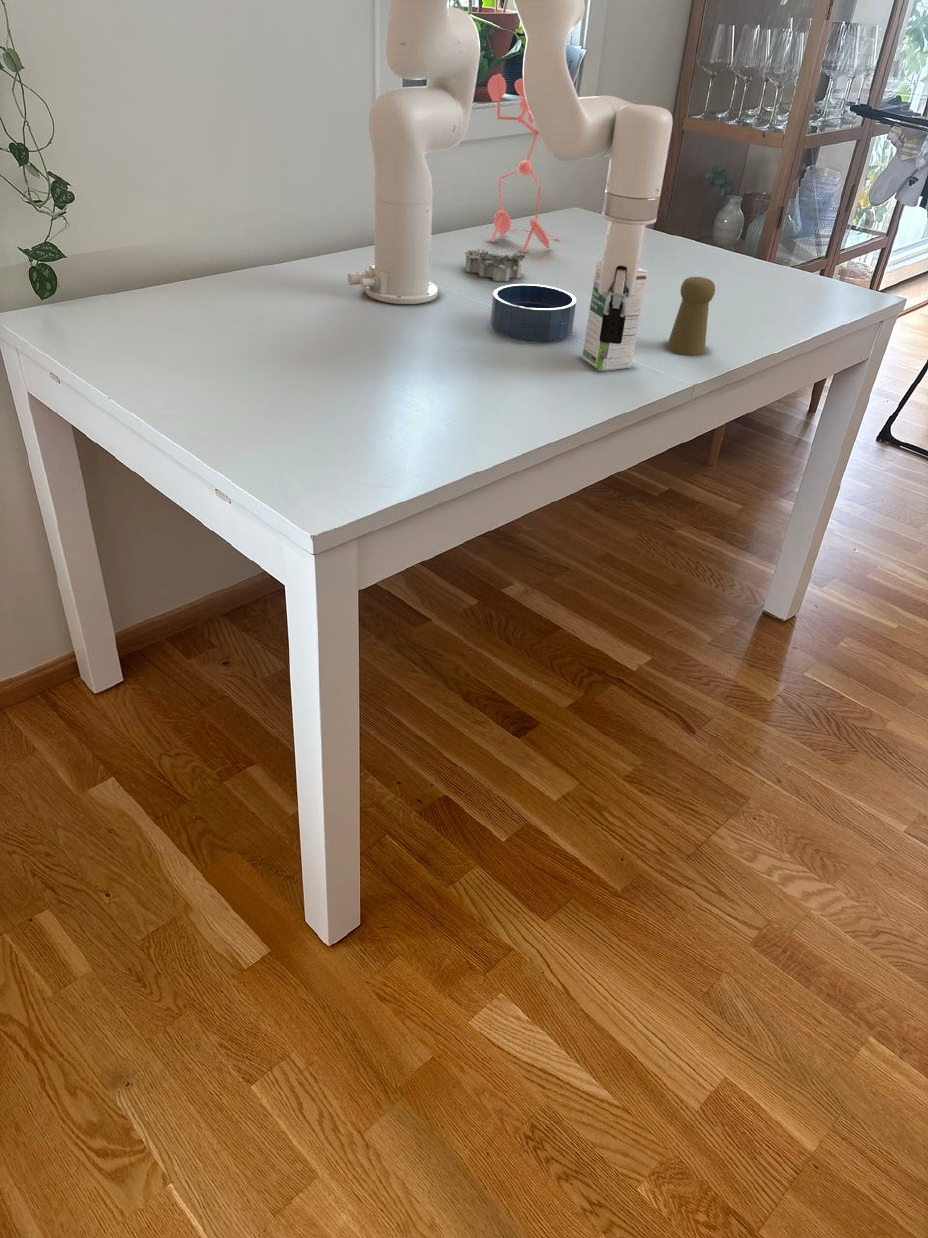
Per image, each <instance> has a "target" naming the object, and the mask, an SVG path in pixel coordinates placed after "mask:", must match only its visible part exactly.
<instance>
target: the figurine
mask: <svg viewBox="0 0 928 1238" xmlns="http://www.w3.org/2000/svg"><path fill="white" fill-rule="evenodd" d="M486 87H487V93H488V95H489V97H490V99H491V101H492V102H493V103H494V102H496V117H497V120H503V121H506V120H507V121H517V123H521V124H522V125H524V127H526V129H528V130H529V131H530V132H531V133H532V134H533V138H532V142H531V145H530V148H529V150H528V155H527V158H526V159H525V160H522V161H521V162H520V163H519V164H518V169H515V170H513V171H511V172H508V173H507V174H504V175H501V176H499V177H498V181H497V182H498V191H499V201H500V203H499V204H500V210H498V211H496V213H494V215H493V216H494V217H493V221H492V222H493V225H494V228H495V229H494V231H493V234H492V237H491V239H490V242H491V243H494V241H495V238H496V236H497V233H499V234H500V235H501V236H502V237H503V236H504V235H506V234H507V232H508V231H515V229H513V228H511V226H512V220H511V216H510V215H509V214H508V212H506V211H505V210H504V207H503V196H502V185H501V184H502V183H501V179H504V178H506V177H509V176H511V175H513V174H516V173H518V172H519V174H521V175H523V176H528V175H530V174H531V176H532V177H533V179H534V182H535V183H536V184H537V186H538V194H537V203H536V210H535V218H534V219H532V218H531V219H530V220H529V225H530V230H528V229H517V232H518V231H519V232H526V233H527V232H528V236H527V238H526V241H525V244H524V245H523V248H522V252H523V253H526V251H527V247H528V245H529V242H530V240H531V237H532V235H533V234H534V236H535V237H536V238H537V239H538V240H539V242H540V243H541V244H542V245H543V246H544V247H546V248H547V249H548V250H549V249H550V241H549V240H550V239H549V238H548V237H550V238H553V239H556V240H557V241H561V242H563V243H565V241H563V240H562V239H560V238H558V237H555V236H553V235H552V234H548V233H546V231H545V230H544V229H543V227H542V226H541V225H540V223H539V222H537V220H538V213H539V207H540V199H541V191H542V186H541V184H540V183H539V181H538V179H537V177H536V175H535V174H534V172H533V164H532V163H531V161H530V158H531V154H532V151H533V148H534V146H535V143H536V139H537V137H538V135H539V134H538V131H537V129H536V128H534V127H533V126H532V125H531V124H532V123H534V121H533V118H532V116H531V113H530V111H529V108H528V105H527V102H526V98H525V93H524V86H523V77H521V78H518V79H517V80H516V81H514V89H515V91H516V92H517V94H518V95H519V96H520V98H521V99H520V103H519V107H520V109H521V110H522V111H521V114H520V115H518V116H501V99H502V98H503V97H504V95H506V91H507V83H506V79H505V78H504V77H503V76H502V74H501V73H497V74H494V75H492V76H491V78H490V79H489V80H488V82H487V86H486ZM526 112H527V115H526V116H527V117H526V118H527V121H528V122H529V123H528V122H527V121H526V120H525V119H524V116H525V114H526ZM530 123H531V124H530ZM546 258H549V256H542V257H541V259H546Z"/></svg>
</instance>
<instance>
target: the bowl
mask: <svg viewBox="0 0 928 1238" xmlns="http://www.w3.org/2000/svg"><path fill="white" fill-rule="evenodd" d="M491 303H492V304H491V315H490V316H491V318H490V325H491V327H492V329H493V330H495V331H496V332H497V333H499V334H501V335H504V336H505V337H508V338H511V339H513V340H517V341H523V342H531V343H548V342H553V341H557V340H558V341H559V340H562V339H565V338H567V337H569V336H570V335H571V334H572V332H573V327H574V321H575V320H574V319H575V313H576V305H577V298H576V297H575V296H574V294H572V293H570V292H568V291H566V290H563V289H561V288H557V287H554V286H553V287H552V286H548V285H542V284H531V283H528V284H527V283H517V284H508V285H504V286H501V287H498V288H496V289H495V290H494V291H493V294H492V302H491Z"/></svg>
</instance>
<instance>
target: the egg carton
mask: <svg viewBox="0 0 928 1238" xmlns="http://www.w3.org/2000/svg"><path fill="white" fill-rule="evenodd" d="M463 253H464V254H465V272H467V273H477V274H478V276H479V277H483V278H485V277H488V278H492V280H493V281H494V282H509V281H510V279H520V278H521V271H522V264H521V262H523V261H524V260H525V259H526V255H525V254H523V253H518V252H517V253H513V254H512V255H510V254H508V253H506V254H505V255H503V254H501V253H495V252H494V253H489V251H487V250H485V249H482V250H481V251H480V249H479V248H478V249H476V250H473V249H472V250H471V249H469V250H467V251H465V250H463Z"/></svg>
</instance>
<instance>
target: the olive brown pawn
mask: <svg viewBox="0 0 928 1238" xmlns="http://www.w3.org/2000/svg"><path fill="white" fill-rule="evenodd" d="M679 291H680V296H681V302H680V305H679V308H678V311H677V313H676V317H675V321H674V322H673V326H672V329H671V332H670V335H669V339H668V341H667V345H666V347H667V349H668V350H669V351H670V352H673V353H675V354H678V355H683V356H699V355H703V354H704V353H705V351H706V340H707V329H708V317H709V304H710V302H711V301H712V300H713V298H714V295H715V293H716V285H715V283H714V281H713V280H712V279H710V278H708V277H707V278H706V277H703V276H689V277H687V278H685V279H684V280H683V282H682V284H681V286H680V290H679Z"/></svg>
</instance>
